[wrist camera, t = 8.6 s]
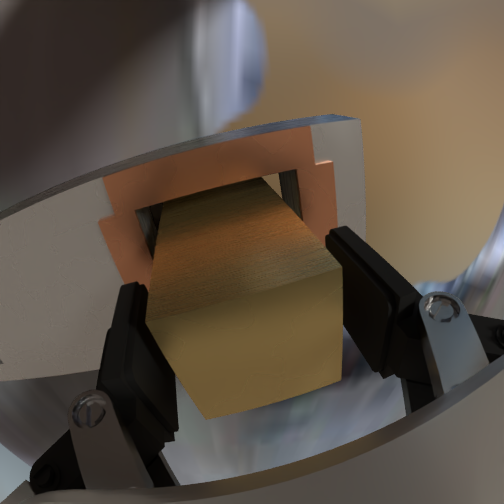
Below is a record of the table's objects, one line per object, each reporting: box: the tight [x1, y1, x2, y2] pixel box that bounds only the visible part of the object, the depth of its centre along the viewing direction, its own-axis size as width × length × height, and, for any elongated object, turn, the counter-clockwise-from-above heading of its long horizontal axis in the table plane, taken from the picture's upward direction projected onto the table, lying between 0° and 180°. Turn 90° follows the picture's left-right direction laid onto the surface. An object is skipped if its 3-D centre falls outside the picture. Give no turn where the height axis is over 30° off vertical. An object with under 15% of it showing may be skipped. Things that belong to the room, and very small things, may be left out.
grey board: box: [0, 114, 366, 381], centre depth 12 cm, size 9×30×3 cm, turn 101°
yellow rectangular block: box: [145, 177, 343, 420], centre depth 11 cm, size 4×4×8 cm
